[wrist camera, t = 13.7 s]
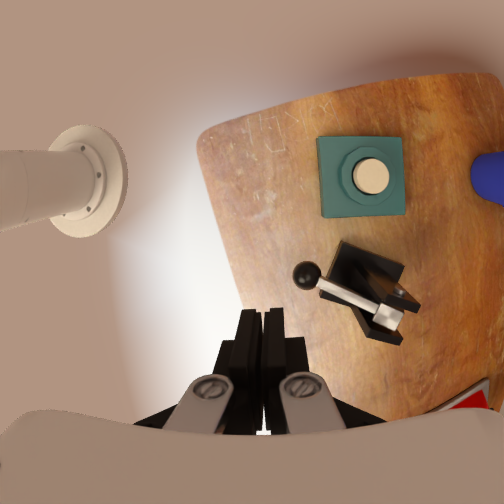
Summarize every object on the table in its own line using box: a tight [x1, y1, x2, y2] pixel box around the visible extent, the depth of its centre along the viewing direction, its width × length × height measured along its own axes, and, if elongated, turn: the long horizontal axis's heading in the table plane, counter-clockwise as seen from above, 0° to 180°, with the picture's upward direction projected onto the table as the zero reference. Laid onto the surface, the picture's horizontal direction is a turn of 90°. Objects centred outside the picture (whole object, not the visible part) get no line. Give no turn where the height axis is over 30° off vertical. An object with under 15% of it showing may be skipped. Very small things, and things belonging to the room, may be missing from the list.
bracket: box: [319, 241, 421, 346], centre depth 32 cm, size 10×8×13 cm
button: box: [353, 159, 389, 194], centre depth 31 cm, size 4×4×2 cm
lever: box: [293, 261, 404, 331], centre depth 30 cm, size 13×3×3 cm, turn 72°
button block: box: [316, 136, 405, 218], centre depth 33 cm, size 11×10×4 cm
